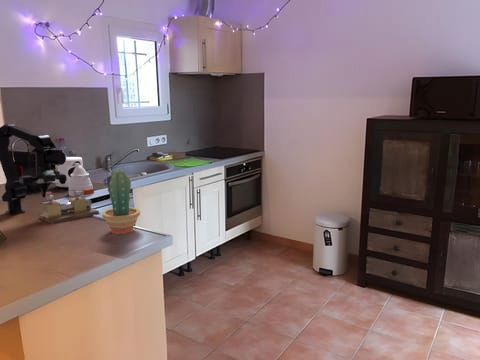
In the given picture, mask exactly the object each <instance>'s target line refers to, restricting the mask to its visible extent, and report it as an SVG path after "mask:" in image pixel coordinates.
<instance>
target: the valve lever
mask: <svg viewBox="0 0 480 360" xmlns="http://www.w3.org/2000/svg"><path fill="white" fill-rule="evenodd" d="M45 198H46V199H47V201H48V202H49V201H52V200H53V201H55V196H54V194H53V192H52V191H46V197H45Z"/></svg>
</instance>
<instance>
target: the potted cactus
mask: <svg viewBox="0 0 480 360" xmlns="http://www.w3.org/2000/svg"><path fill="white" fill-rule="evenodd" d="M103 178H104V179H103V180H102V186H103V189H106V188H107V192H108V194H109V196H110V197H111V200H112V202H111V207H112V208H107V209H106V210H103V211H101V217H102V219H104V221H105V223H106V225H107V226H108V228H110V229H111V230H110V232H111V233H112V234H116V235H123V234H124V233H125V234H128V233H132V231H134V226H135V225H136V223H137V221H138V218H139V216H140V215H141V209H139V208H136V207H130V201H129V196H130V194H131V188H132V184H131V183H132V181H131V179H130V177H129V176H128V174H127V173H126V171H124V170H123V169H122V170H112V172H110V173H107V174H106V175H105V177H103ZM111 200H110V201H111Z"/></svg>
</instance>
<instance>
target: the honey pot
mask: <svg viewBox="0 0 480 360" xmlns="http://www.w3.org/2000/svg"><path fill="white" fill-rule="evenodd" d="M75 166H76V168H75V169H74V171H73V174H71V175H70V176H71V180H70V183H69V186H68V187H69V188H68V196H69V197H71V198H75V196H74V191H81V190H85V189H91V188H92V189H94V187H93V183H92V182H91V178H90V177H89V175H90V173H89V172H87V171H86V169H85V168H84V166H83V167H82V166H80V165H79V164H78V163H77V164H75ZM92 195H93V194H89V195H80V196H79V197H82V198H84V197H87V196H88V197H89V196H92Z"/></svg>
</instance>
